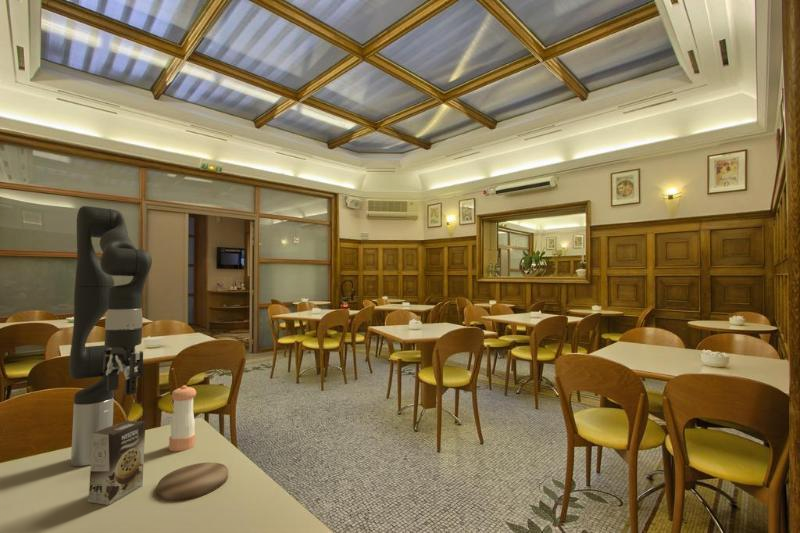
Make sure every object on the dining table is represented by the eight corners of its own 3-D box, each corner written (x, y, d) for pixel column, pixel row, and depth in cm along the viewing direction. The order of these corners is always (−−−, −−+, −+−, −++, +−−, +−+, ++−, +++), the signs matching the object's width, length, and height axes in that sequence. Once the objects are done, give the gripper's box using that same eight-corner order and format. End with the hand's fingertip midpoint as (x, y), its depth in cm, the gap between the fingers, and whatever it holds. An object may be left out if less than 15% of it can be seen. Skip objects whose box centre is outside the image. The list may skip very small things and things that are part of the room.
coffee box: (109, 505, 85) (112, 434, 86) (87, 502, 87) (90, 432, 88) (144, 485, 94) (146, 420, 95) (123, 482, 96) (126, 419, 97)
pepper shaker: (175, 442, 121) (177, 383, 122) (199, 441, 122) (200, 382, 123) (164, 452, 114) (166, 389, 115) (189, 450, 115) (190, 388, 116)
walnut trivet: (143, 489, 92) (143, 483, 92) (203, 463, 106) (203, 457, 106) (181, 507, 85) (182, 500, 85) (241, 476, 99) (241, 470, 99)
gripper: (92, 327, 93) (89, 392, 92) (122, 329, 87) (118, 399, 85) (126, 324, 100) (123, 385, 99) (155, 326, 93) (153, 392, 92)
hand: (121, 392), depth 92 cm, fingers open, 8 cm apart
